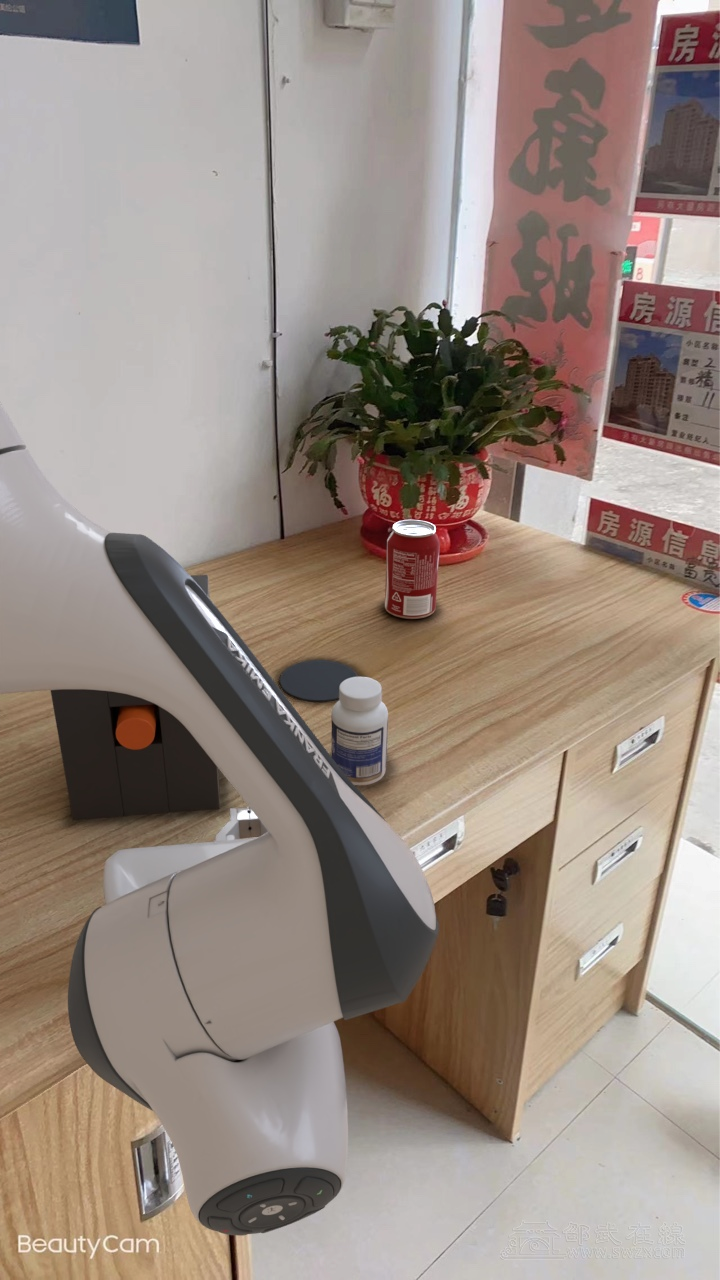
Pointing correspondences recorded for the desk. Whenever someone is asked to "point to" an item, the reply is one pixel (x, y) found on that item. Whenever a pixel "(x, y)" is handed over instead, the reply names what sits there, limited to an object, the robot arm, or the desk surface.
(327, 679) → the coaster
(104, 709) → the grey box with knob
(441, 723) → the desk surface
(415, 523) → the soda can
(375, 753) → the pill bottle
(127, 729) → the button
